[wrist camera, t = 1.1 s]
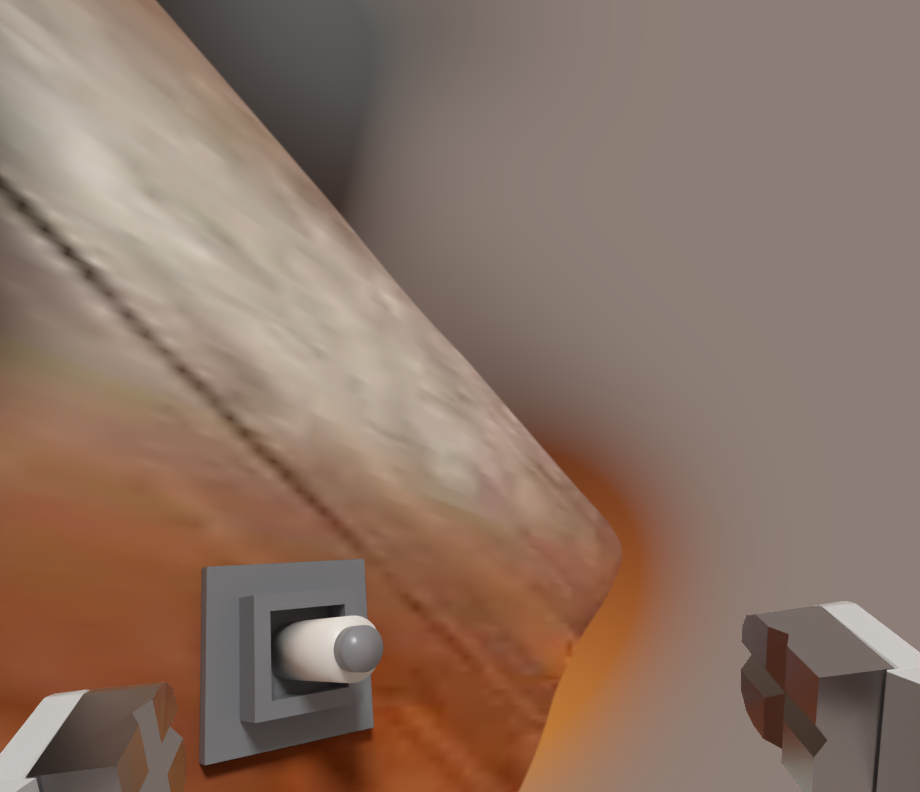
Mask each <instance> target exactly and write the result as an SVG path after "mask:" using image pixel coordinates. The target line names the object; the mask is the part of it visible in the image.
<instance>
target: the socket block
mask: <svg viewBox="0 0 920 792" xmlns="http://www.w3.org/2000/svg"><path fill="white" fill-rule="evenodd" d="M343 616H361V617H364V618H366V619H367V604H366V586H365V569H364V559H353V560H333V561H314V562H294V563H274V564H255V565H235V566H215V567H205V568H202V594H201V674H200V753H199V764H202V765H209V764H214V763H218V762H223V761H227V760H231V759H236V758H240V757H245V756H249V755H254V754H258V753H263V752H267V751H271V750H276V749H280V748H285V747H289V746H294V745H298V744H303V743H307V742H312V741H316V740H320V739H325V738H329V737H334V736H338V735H343V734H347V733H352V732H356V731H361V730H365V729H369V728H374V725H373V708H372V691H371V674H370V675H369V676H368V677H367V678H365V679H364V680H362V681H360V682H356V683H338V682H319V681H300V680H286V679H283V678H280V677H279V676H277V675H276V674H275V673H274V672H273V671H272V669H271V637H272V635H273V634H274V632H275V631H276V630H277V629H278V628H279V627H281V626H282V625H284V624H286V623H289V622H295V621H305V620H314V619H324V618H333V617H343Z"/></svg>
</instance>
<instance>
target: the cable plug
mask: <svg viewBox="0 0 920 792" xmlns="http://www.w3.org/2000/svg"><path fill="white" fill-rule="evenodd" d="M382 654H383V641H382V638H381V636H380V634H379V632H378V631H377V630H376V628H375V627H374V625H373V624H372V623H371V622H370V621H369V620H367V619H366V618H364V617H361V616H343V617H333V618H324V619H314V620H305V621H295V622H289V623H286V624H284V625H282V626H281V627H279V628H278V629H277V630H276V631H275V632H274V634H273V635H272V637H271V669H272V671H273V672H274V673H275V674H276V675H277V676H279V677H280V678H283V679H286V680H300V681H319V682H338V683H356V682H360V681H362V680H364V679H365V678H367V677H368V676H369V675H370V674H371V673H372V672H373V670H374V669H375V667H376V666H377V665H378V663H379V662H380V660H381V657H382Z"/></svg>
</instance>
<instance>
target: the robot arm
mask: <svg viewBox="0 0 920 792" xmlns="http://www.w3.org/2000/svg"><path fill="white" fill-rule="evenodd" d="M742 642H743V644H744V645H745V646H746V647H747V649H748V650H749V651H750V652H751V654H752V655H751V656H750V657H749V659H748V660H747V661H746V663H745V664H744V666H743V667H742V669H741V691H742V695H743V699H744V703H745V707H746V711H747V713H748V715H749V717H750V719H751V721H752V723H753V725H754V727H755V728H756V729H757V730H758V732H759V733H760V735H761V736H762V738H763V739H765V740H767V741H769V742H771V743H772V744H774V745H776V746H778V747H780V748H782V764H783V765H784V767H785V768H786V769H787V771H788V772H789V773H790V775H791V776H792V777H793V779H794V780H795V781H796V783H797V784H798V785H799V787H800V788H801V789H802V790H803V792H920V652H918V651H917V650H916V649H914V648H913V647H912V646H910V645H909V644H908V643H906V642H905V641H904V640H903V639H901V638H900V637H899V636H897V635H896V634H895V633H893V632H892V631H891V630H890V629H888V628H887V627H885V626H884V625H883V624H882V623H880V622H879V621H878V620H876V619H875V618H874V617H873V616H871V615H870V614H869V613H867V612H866V611H865V610H863V609H862V608H861V607H859V606H858V605H857V604H855V603H851V602H848V601H841V602H834V603H828V604H822V605H815V606H812V607H804V608H797V609H790V610H783V611H777V612H769V613H762V614H754V615H747V616H746V618H745V621H744V624H743V629H742ZM176 712H177V706H176V701H175V697H174V692H173V688H172V687H171V686H170V685H169V684H168V683H166V682H164V683H153V684H143V685H132V686H122V687H112V688H101V689H93V690H80V691H72V692H64V693H56V694H53V695H50V696H48V697H45V698H44V699H43V700H42V701H41V703H40V704H39V705H38V706H37V708H36V709H35V710H34V712H33V713H32V714H31V715H30V717H29V718H28V719H27V720H26V722H25V723H24V724H23V726H22V727H21V728H20V729H19V731H18V732H17V733H16V735H15V736H14V737H13V738H12V740H11V741H10V742H9V743H8V745H7V746H6V747H5V749H4V750H3V751H2V752H1V754H0V792H183V789H184V783H185V776H186V755H185V749H184V743H183V738H182V737H181V736H180V735H179V734H177V733H176V732H175V731H174V730H173V729H172V728H171V727H170V725H171V722H172V720H173V718H174V716H175V714H176Z"/></svg>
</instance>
